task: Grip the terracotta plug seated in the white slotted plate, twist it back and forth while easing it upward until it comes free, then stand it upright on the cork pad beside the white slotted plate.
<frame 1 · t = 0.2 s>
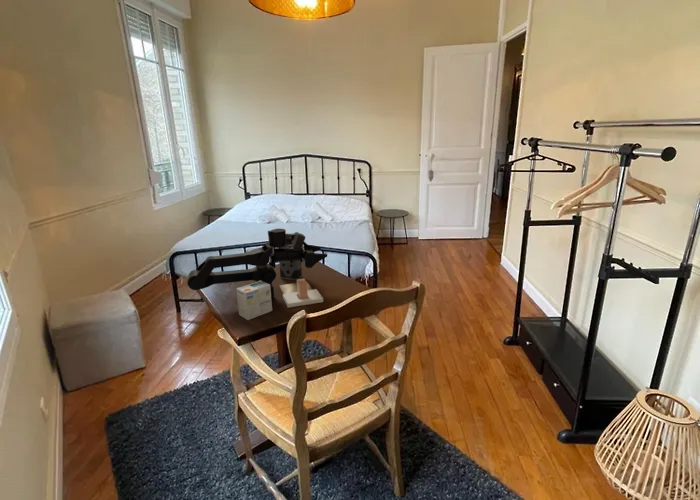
hand: (323, 251, 157), 17 cm above the table, tool horizontal, fingers open, 9 cm apart
electronic device: (291, 277, 176), on the table
white slotted plate: (302, 299, 152), on the table
plug: (302, 290, 151), in the white slotted plate
pad: (295, 288, 163), on the table
light bulb box: (255, 313, 142), on the table
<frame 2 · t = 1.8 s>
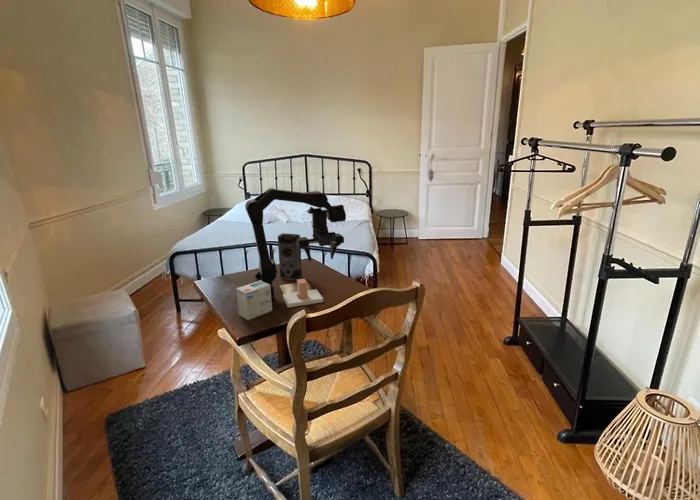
hand: (321, 260, 158), 13 cm above the table, tool pointing down, fingers open, 9 cm apart
nothing on the table moved.
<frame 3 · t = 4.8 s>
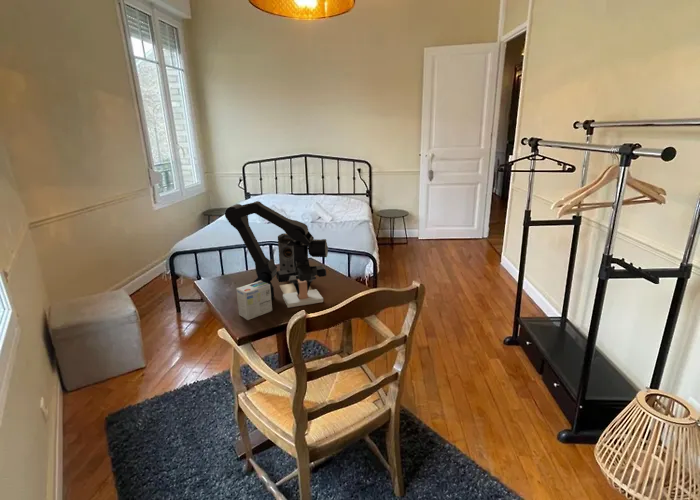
hand: (302, 293, 152), 3 cm above the table, tool pointing down, fingers closed on plug, 3 cm apart
plug: (302, 290, 151), in the white slotted plate, touching gripper
everything else where it was.
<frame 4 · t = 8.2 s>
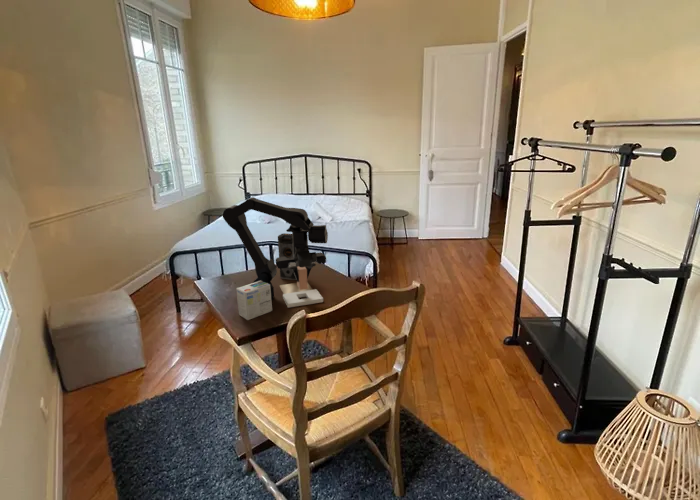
hand: (302, 281, 150), 8 cm above the table, tool pointing down, fingers closed on plug, 3 cm apart
plug: (302, 277, 150), point 9 cm above the table, touching gripper
everything else where it was.
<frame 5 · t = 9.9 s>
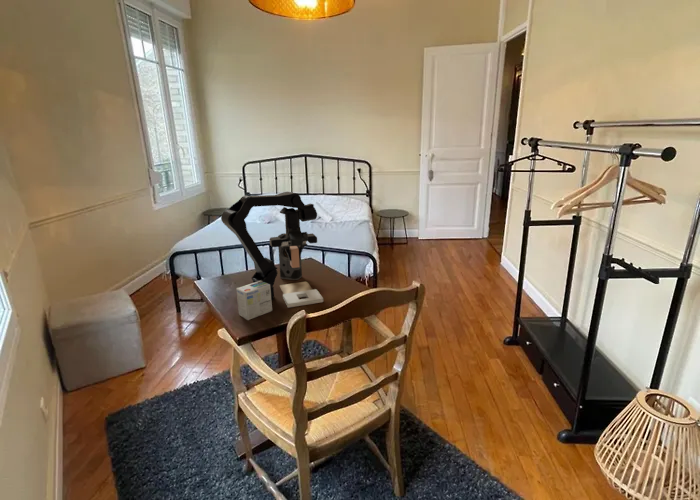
hand: (294, 260, 159), 13 cm above the table, tool pointing down, fingers closed on plug, 3 cm apart
plug: (294, 256, 159), point 14 cm above the table, touching gripper
everything else where it was.
when the fingers open (5 cm above the table, at t = 11.6 s): plug drops 2 cm, resting on pad.
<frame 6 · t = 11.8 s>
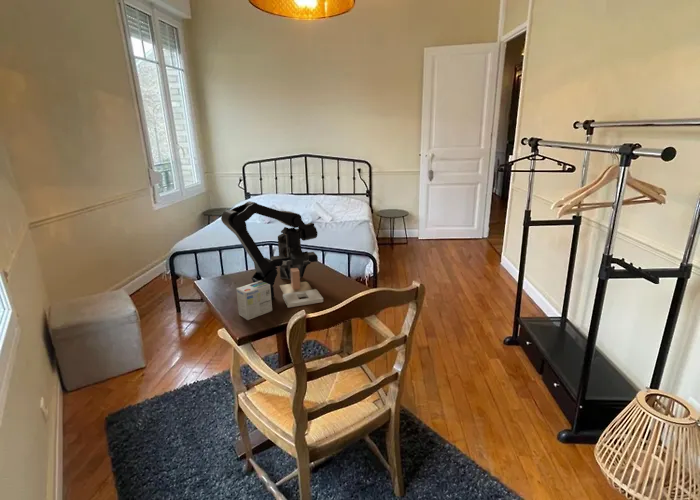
hand: (295, 278, 162), 5 cm above the table, tool pointing down, fingers open, 5 cm apart
plug: (295, 278, 162), on the pad, point 5 cm above the table
everything else where it was.
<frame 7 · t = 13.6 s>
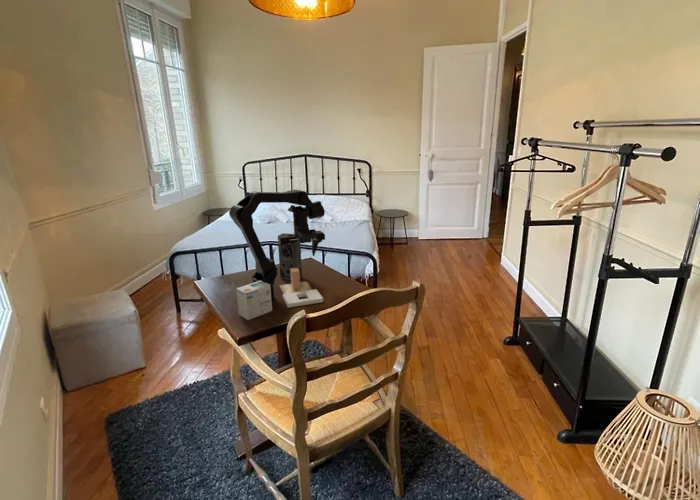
hand: (302, 257, 161), 13 cm above the table, tool pointing down, fingers open, 9 cm apart
nothing on the table moved.
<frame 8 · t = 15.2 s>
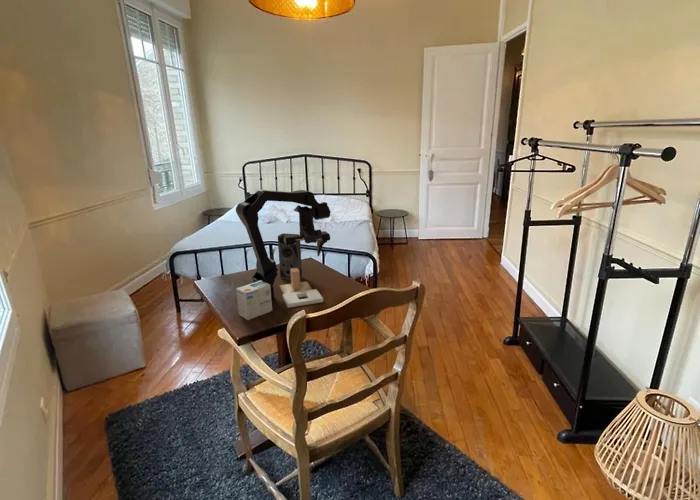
hand: (307, 257, 162), 13 cm above the table, tool pointing down, fingers open, 9 cm apart
nothing on the table moved.
at the end: plug inside the target area on the pad (0.1 cm from its centre), point 4.6 cm above the pad's base; plug tilted 0°; the gripper is holding nothing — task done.
